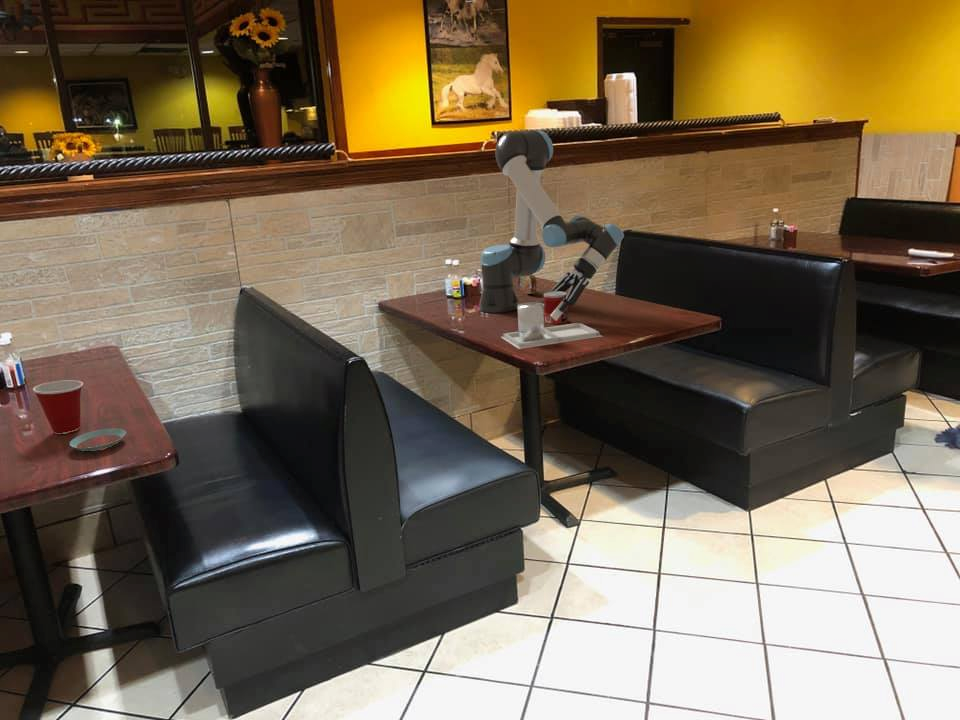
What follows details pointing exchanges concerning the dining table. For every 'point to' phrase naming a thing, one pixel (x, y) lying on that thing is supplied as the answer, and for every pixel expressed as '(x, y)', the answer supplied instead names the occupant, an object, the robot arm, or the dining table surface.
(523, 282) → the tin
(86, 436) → the saucer
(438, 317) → the dining table surface
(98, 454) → the dining table surface
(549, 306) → the canned food
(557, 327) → the divided white tray
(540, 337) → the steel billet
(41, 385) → the plastic cup
